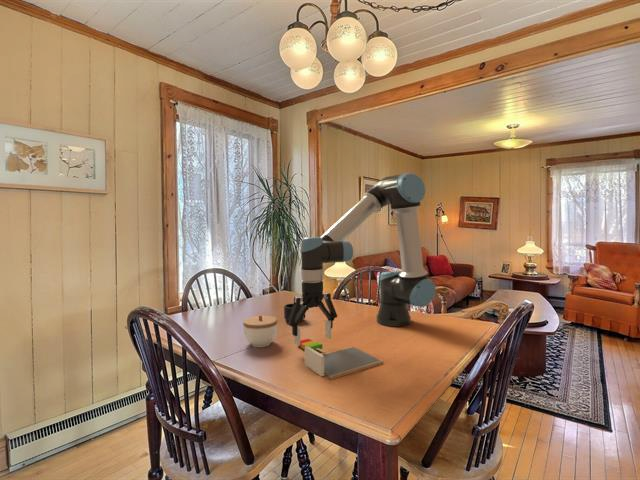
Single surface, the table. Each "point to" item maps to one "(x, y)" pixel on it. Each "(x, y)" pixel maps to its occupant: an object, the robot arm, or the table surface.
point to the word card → (314, 360)
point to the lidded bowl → (260, 330)
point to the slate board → (347, 362)
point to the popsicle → (311, 345)
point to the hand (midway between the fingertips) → (313, 341)
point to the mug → (289, 310)
